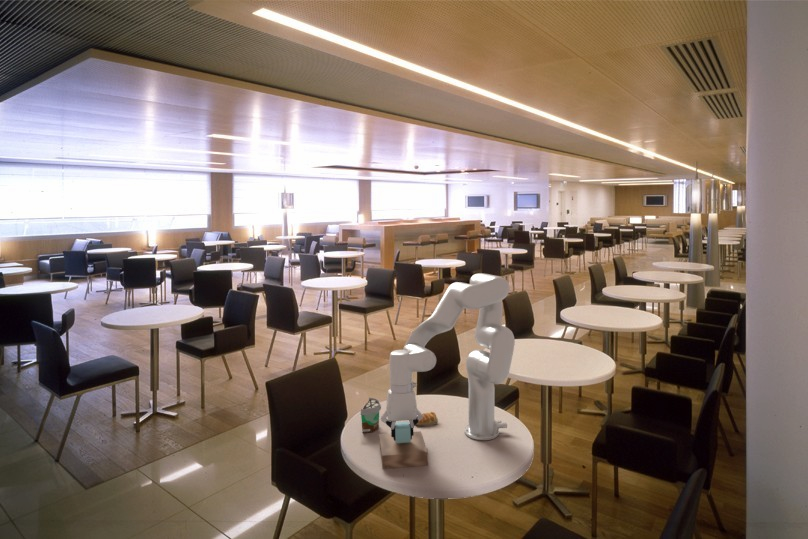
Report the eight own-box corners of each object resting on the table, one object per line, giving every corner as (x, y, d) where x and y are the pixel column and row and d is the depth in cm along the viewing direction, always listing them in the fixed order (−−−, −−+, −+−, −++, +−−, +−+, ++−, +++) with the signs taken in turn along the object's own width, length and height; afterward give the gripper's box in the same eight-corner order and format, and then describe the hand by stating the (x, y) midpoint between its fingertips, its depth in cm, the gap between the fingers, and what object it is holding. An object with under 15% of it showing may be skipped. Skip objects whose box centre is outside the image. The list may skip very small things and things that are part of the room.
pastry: (418, 429, 184) (417, 419, 183) (410, 422, 190) (410, 413, 189) (439, 424, 188) (439, 414, 187) (431, 417, 194) (431, 408, 193)
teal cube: (408, 435, 166) (408, 421, 165) (410, 442, 161) (410, 428, 160) (394, 436, 165) (394, 422, 165) (395, 443, 160) (395, 429, 160)
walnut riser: (421, 443, 172) (421, 431, 172) (427, 465, 157) (427, 452, 157) (379, 446, 171) (379, 434, 170) (382, 468, 156) (382, 455, 155)
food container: (377, 436, 178) (376, 410, 177) (361, 435, 179) (360, 409, 178) (385, 421, 190) (384, 397, 189) (370, 420, 191) (369, 396, 190)
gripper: (424, 381, 166) (425, 431, 168) (375, 384, 164) (377, 434, 166) (428, 389, 158) (428, 441, 160) (376, 392, 156) (378, 445, 159)
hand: (402, 437), depth 163 cm, fingers closed on teal cube, 4 cm apart
